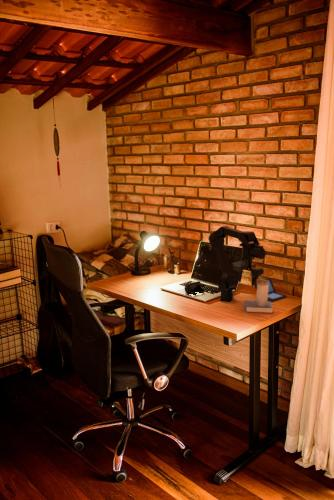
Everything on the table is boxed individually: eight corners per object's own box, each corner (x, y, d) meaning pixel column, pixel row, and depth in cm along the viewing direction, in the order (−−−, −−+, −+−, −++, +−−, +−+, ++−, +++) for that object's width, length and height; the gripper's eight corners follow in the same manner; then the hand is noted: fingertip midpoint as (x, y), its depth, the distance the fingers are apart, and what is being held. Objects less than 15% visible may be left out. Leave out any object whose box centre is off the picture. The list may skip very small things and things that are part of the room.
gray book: (245, 312, 245) (245, 306, 244) (243, 305, 255) (244, 300, 254) (272, 313, 243) (273, 307, 243) (270, 306, 253) (270, 301, 253)
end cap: (196, 291, 280) (196, 280, 278) (205, 293, 274) (205, 282, 273) (184, 294, 273) (184, 283, 272) (192, 297, 268) (193, 286, 266)
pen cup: (258, 307, 243) (259, 284, 239) (253, 302, 249) (255, 279, 245) (269, 306, 245) (271, 283, 241) (264, 301, 250) (266, 278, 246)
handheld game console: (270, 303, 260) (271, 287, 258) (251, 297, 270) (252, 281, 268) (287, 297, 270) (288, 282, 268) (269, 292, 280) (270, 277, 278)
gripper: (223, 254, 247) (222, 282, 251) (250, 261, 233) (249, 291, 237) (238, 251, 254) (236, 279, 258) (265, 258, 240) (263, 287, 244)
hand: (246, 284), depth 249 cm, fingers open, 9 cm apart
